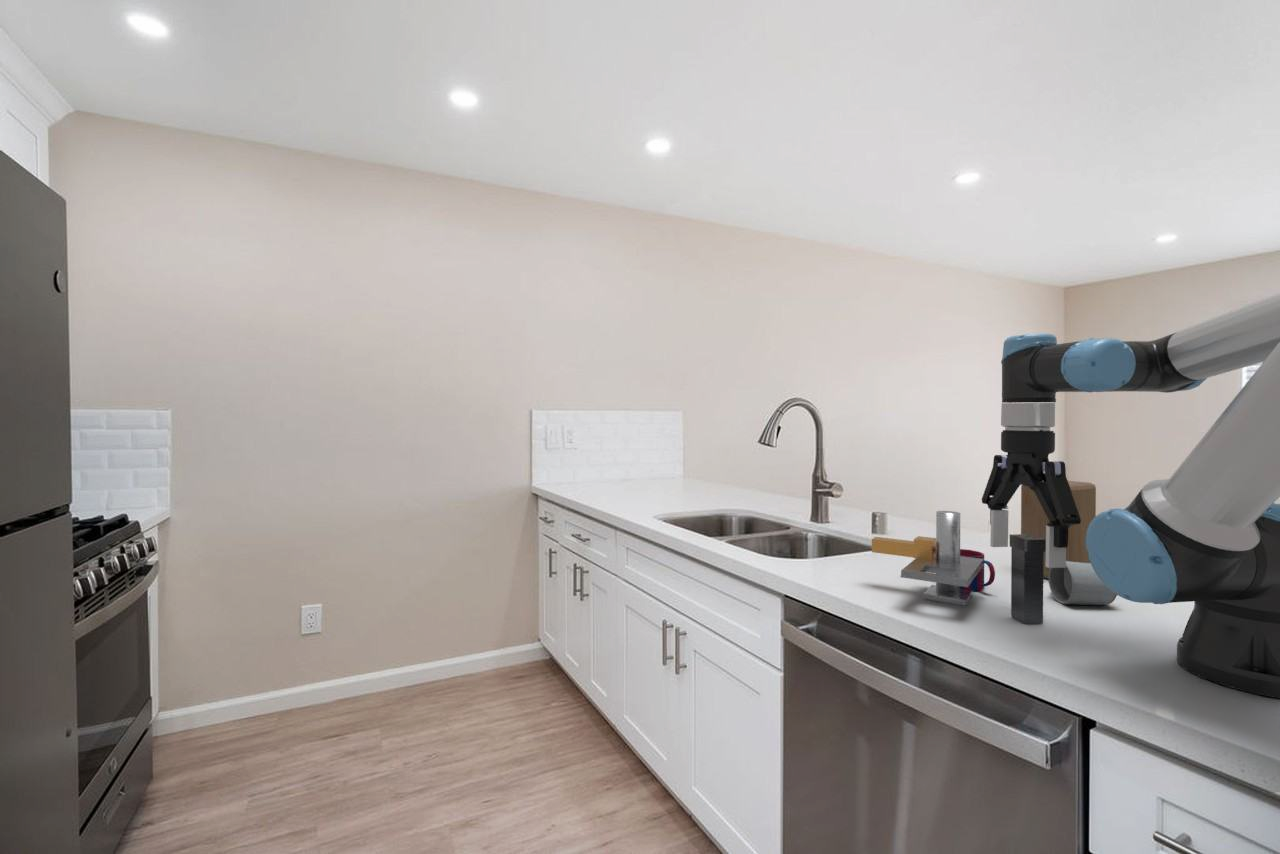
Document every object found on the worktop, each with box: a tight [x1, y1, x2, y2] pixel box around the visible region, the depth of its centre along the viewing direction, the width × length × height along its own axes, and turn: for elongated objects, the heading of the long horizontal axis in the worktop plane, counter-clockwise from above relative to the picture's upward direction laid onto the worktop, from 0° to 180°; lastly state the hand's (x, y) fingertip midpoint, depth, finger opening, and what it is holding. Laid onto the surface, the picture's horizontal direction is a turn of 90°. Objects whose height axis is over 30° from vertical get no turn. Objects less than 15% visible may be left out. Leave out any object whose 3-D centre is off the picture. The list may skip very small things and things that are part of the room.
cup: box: [960, 548, 996, 592], centre depth 118 cm, size 7×10×7 cm
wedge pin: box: [1009, 533, 1046, 625], centre depth 99 cm, size 4×3×14 cm
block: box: [1020, 480, 1097, 580], centre depth 126 cm, size 10×10×20 cm
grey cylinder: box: [1048, 561, 1118, 606], centre depth 110 cm, size 11×8×8 cm
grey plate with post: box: [871, 510, 985, 607], centre depth 112 cm, size 18×19×16 cm
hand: (1025, 556), depth 100 cm, fingers open, 13 cm apart
